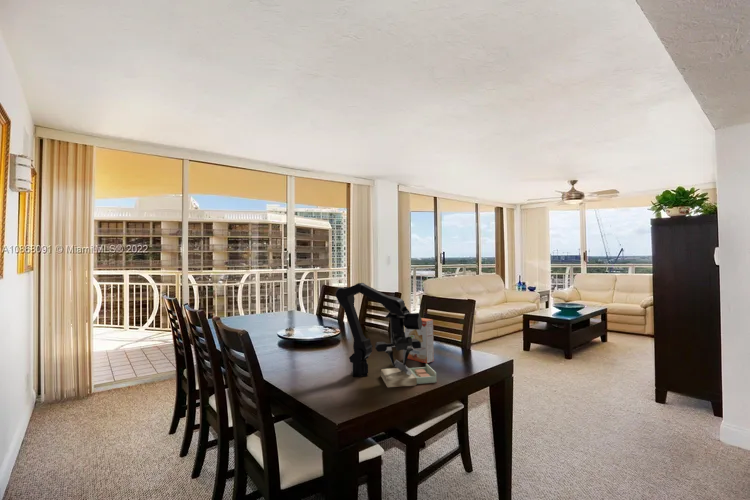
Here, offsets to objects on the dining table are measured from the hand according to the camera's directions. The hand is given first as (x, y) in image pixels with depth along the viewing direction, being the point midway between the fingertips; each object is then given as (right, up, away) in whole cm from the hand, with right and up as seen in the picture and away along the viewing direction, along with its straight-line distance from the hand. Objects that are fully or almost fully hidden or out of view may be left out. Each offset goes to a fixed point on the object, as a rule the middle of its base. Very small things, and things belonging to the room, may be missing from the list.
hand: (398, 365), depth 159 cm
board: (0, -6, -1) cm, 6 cm away
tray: (+10, -6, +2) cm, 12 cm away
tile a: (+11, -4, -1) cm, 11 cm away
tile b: (+10, -4, +5) cm, 11 cm away
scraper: (+4, -2, +1) cm, 5 cm away
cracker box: (+12, -6, +28) cm, 31 cm away
